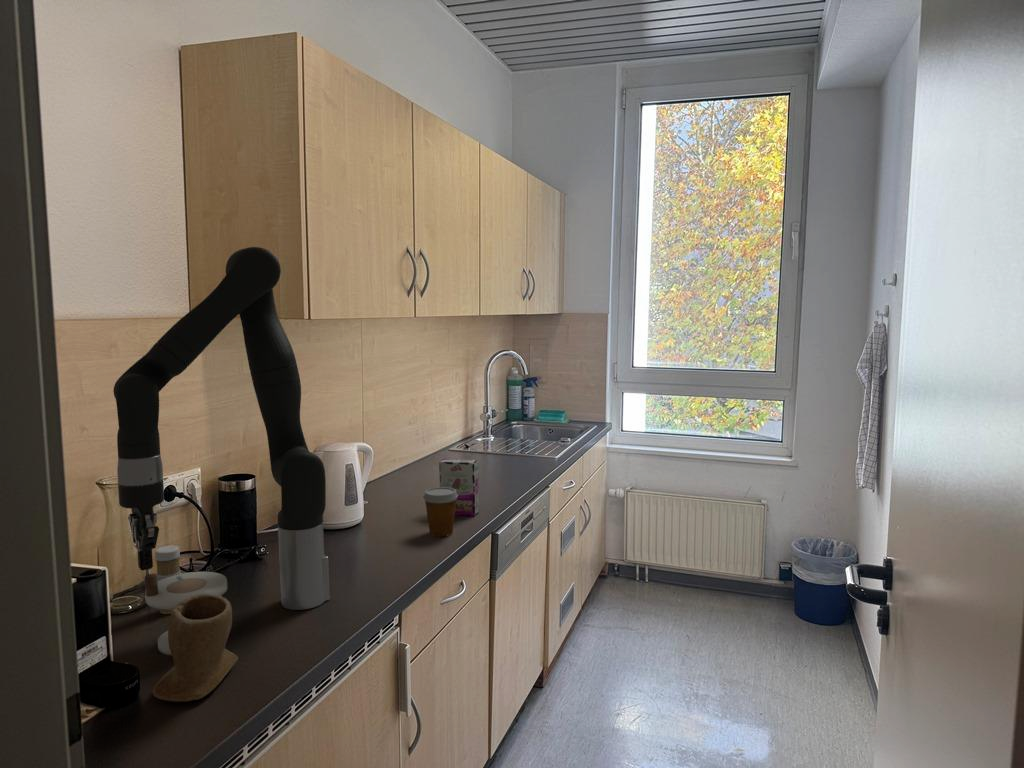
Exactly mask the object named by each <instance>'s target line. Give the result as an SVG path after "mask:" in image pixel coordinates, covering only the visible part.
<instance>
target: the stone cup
mask: <svg viewBox="0 0 1024 768" xmlns="http://www.w3.org/2000/svg"><path fill="white" fill-rule="evenodd" d="M232 608H233V607H232V605H231V602H230V601H229V600H228V599H227V598H226V597H223V595H222V596H219V595H215V594H198V595H194V596H190V597H188V598H186V599H184V600H182V601H181V602H179V603H178V604H177V605H176V607H175V608H174V609H173V611H172V614H170V617H169V621H168V630H167V631H168V643H169V649H170V652H171V654H172V655H171V657H172V659H173V664H174V666H173V667H171V668H170V669H169V670H168V671H167V672H166V673H165V674H164V675H163V676H162V677H161V678H160V679H159V681H158V682H157V683H156V684H155V686H154V688H153V689H152V695H153V696H154V697H155V698H157V699H158V700H163V701H166V702H175V703H176V702H181V703H182V702H184V703H185V702H190V701H196V700H197V701H198V700H200V699H203V698H204V697H205V696H207V695H208V694H210V693H211V692H212V691H214V690H215V689H216V687H217V686H218V685H220V683H221V682H222V680H223V679H224V678H225V676H226V675H228V673H229V672H230V671H231V669H232V668H233V667H234V665H235V664H236V663H237V661H238V659H239V657H238V655H237V654H235V653H234V652H231V651H230V650H229V649H227V648H226V644H227V642H228V638H229V636H230V632H231V629H232V624H233V609H232Z"/></svg>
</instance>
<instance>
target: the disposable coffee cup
mask: <svg viewBox="0 0 1024 768" xmlns="http://www.w3.org/2000/svg"><path fill="white" fill-rule="evenodd" d="M457 497H458V494H457V492H456V490H455V489H453V488H447V487H440V486H439V487H432V488H428V489H426V490H425V491H424V493H423V499H424V501H425V508H426V515H427V523H428V528H429V534H431V535H430V536H432V535H434V536H433V537H435V536H445V537H448V536H447V535H449V536H451V535H453V531H454V522H455V516H456V515H455V507H456V499H457Z"/></svg>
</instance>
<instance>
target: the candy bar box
mask: <svg viewBox="0 0 1024 768" xmlns="http://www.w3.org/2000/svg"><path fill="white" fill-rule="evenodd" d="M438 466H439V487H447V488H453V489H455V490H456V492H457V494H458V497H457V499H456V507H455V516H462V517H463V516H465V517H466V516H467V517H475V516H476V515H478V514H479V513H480V493H479V492H480V490H479V489H480V486H479V484H480V483H479V481H480V480H479V477H480V475H479V460H478V459H462V458H461V459H458V458H456V459H455V458H443V459H442V460H440V461H439V463H438Z"/></svg>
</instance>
